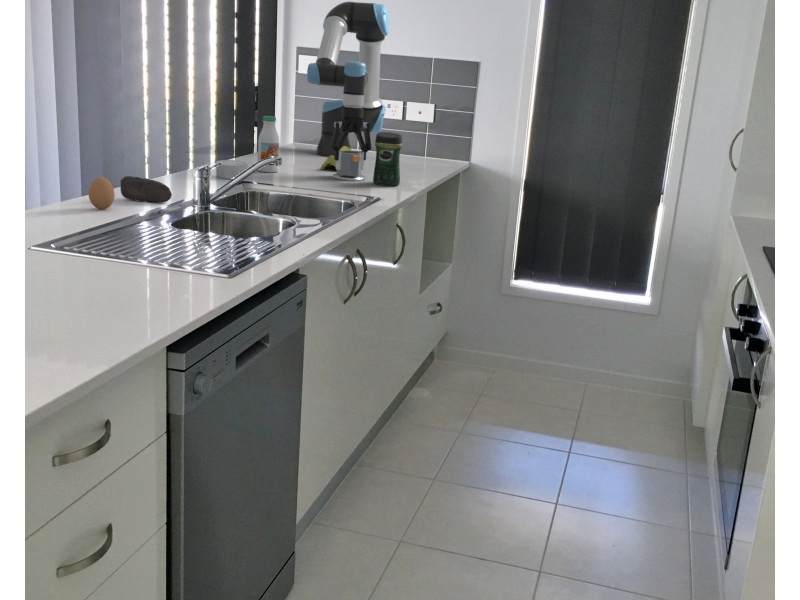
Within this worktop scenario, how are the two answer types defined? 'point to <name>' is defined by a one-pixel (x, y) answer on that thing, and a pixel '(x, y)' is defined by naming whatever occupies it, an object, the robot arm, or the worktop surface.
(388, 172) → the coffee jar
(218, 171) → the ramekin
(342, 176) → the duct stub
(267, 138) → the milk bottle
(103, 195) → the egg
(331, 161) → the plastic component
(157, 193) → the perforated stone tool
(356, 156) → the grey octagonal holder
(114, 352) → the worktop surface
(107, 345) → the worktop surface
